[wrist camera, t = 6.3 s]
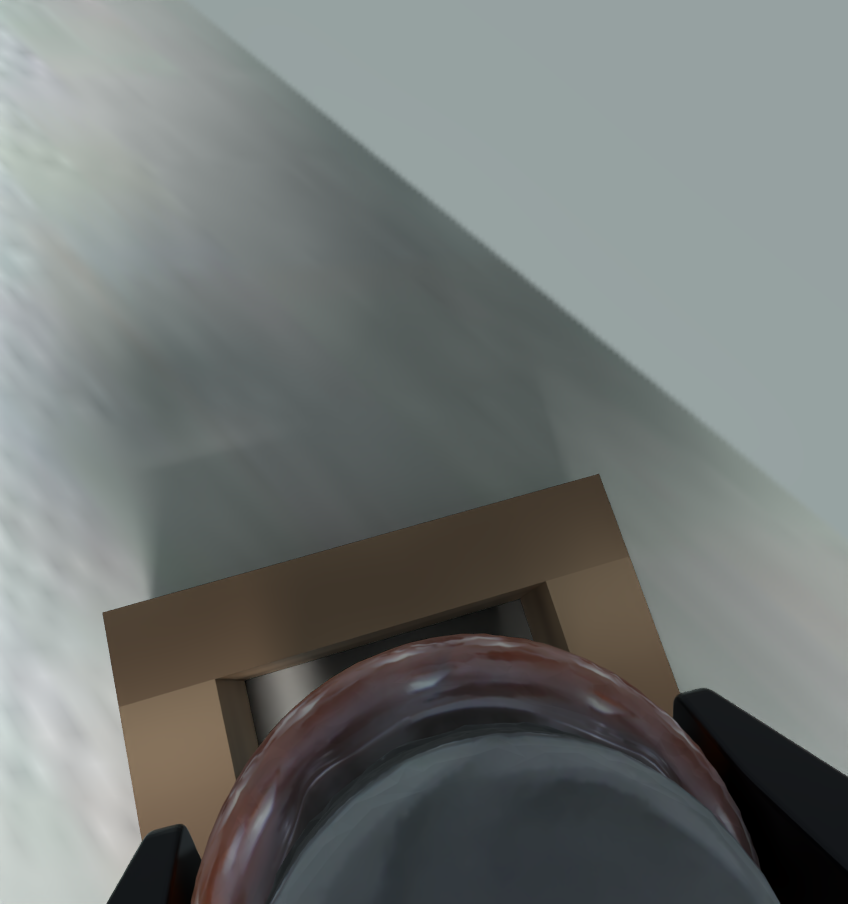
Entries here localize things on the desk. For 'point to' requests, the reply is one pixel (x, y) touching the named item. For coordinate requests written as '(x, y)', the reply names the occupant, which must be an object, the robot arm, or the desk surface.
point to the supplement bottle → (479, 791)
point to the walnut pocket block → (363, 629)
